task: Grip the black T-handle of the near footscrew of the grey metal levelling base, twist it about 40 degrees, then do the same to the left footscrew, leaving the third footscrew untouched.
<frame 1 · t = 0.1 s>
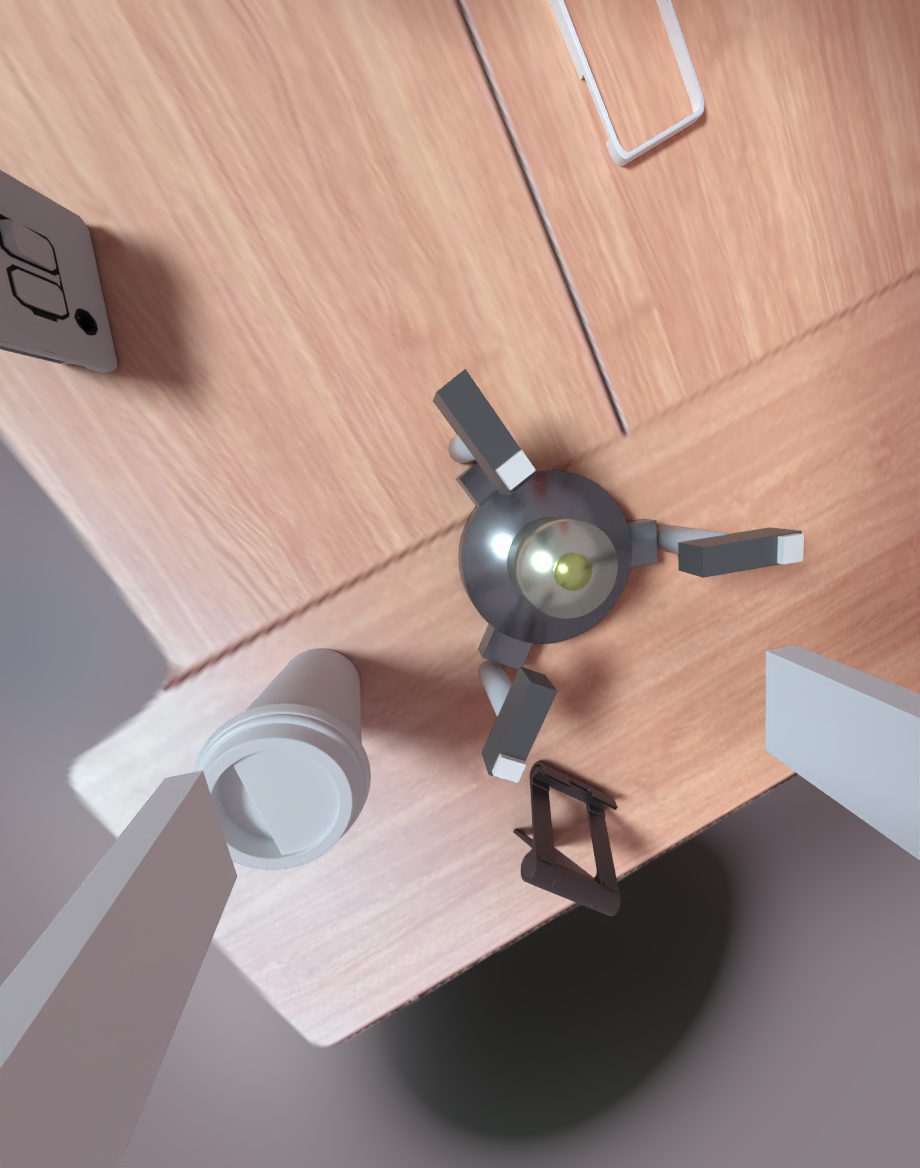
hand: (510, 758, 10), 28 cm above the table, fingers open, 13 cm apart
coffee cup: (321, 683, 38), on the table
levelling base: (539, 556, 39), on the table
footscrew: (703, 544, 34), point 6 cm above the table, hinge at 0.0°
portable electronic device stand: (552, 805, 44), on the table
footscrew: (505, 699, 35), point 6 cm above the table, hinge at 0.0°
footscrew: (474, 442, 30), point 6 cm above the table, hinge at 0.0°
electrical switch: (66, 306, 30), on the table
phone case: (611, 38, 32), on the table
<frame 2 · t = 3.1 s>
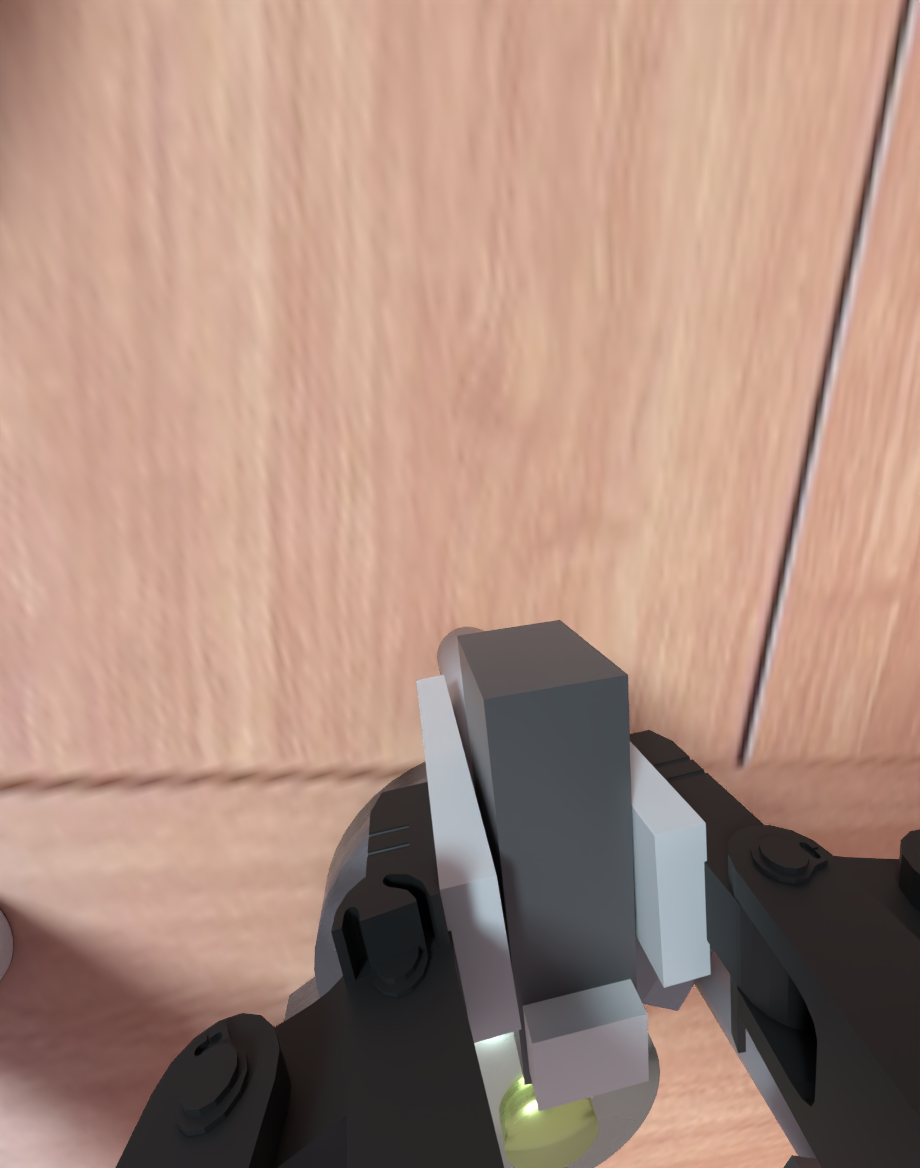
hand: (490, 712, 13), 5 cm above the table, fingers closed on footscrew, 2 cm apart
levelling base: (492, 889, 20), on the table
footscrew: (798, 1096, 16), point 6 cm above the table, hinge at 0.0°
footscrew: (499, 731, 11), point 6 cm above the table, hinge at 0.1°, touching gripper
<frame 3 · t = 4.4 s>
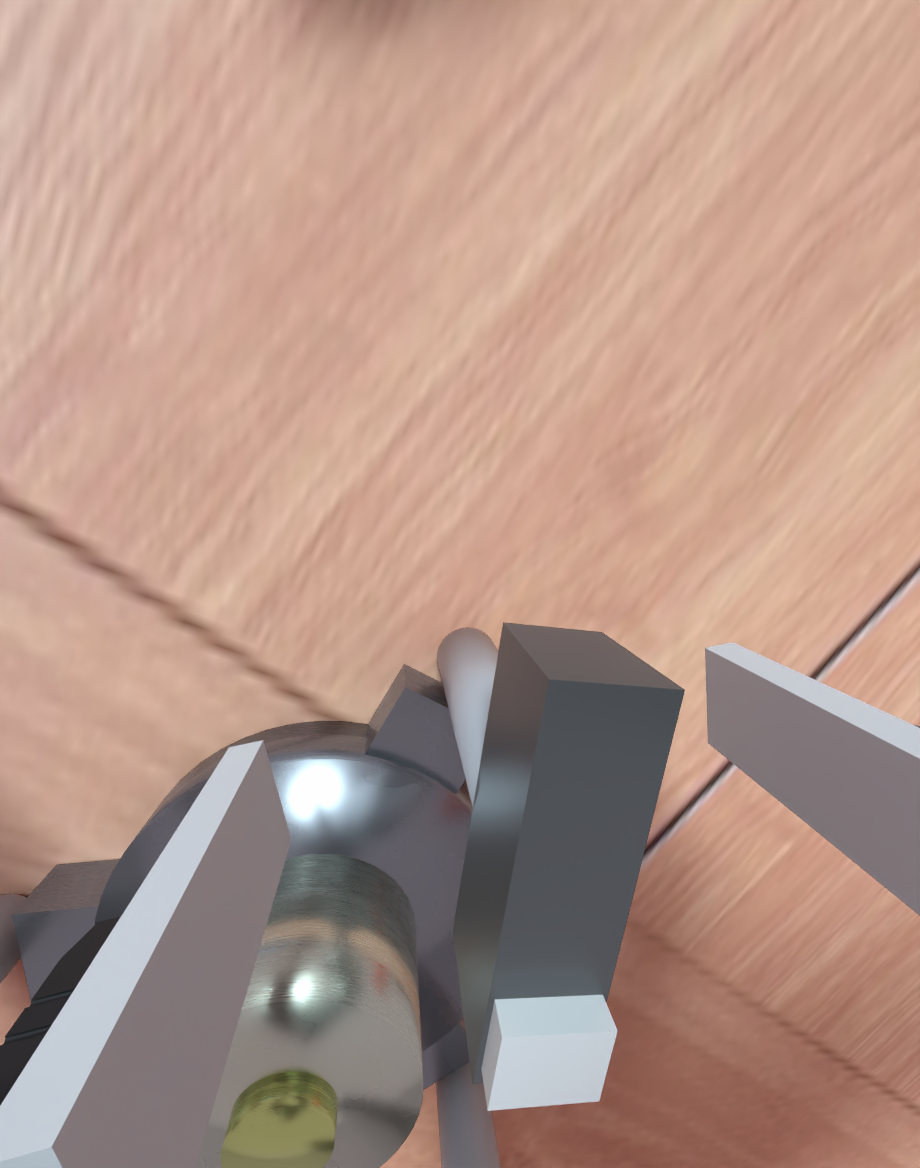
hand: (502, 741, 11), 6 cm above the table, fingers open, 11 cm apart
levelling base: (326, 879, 18), on the table
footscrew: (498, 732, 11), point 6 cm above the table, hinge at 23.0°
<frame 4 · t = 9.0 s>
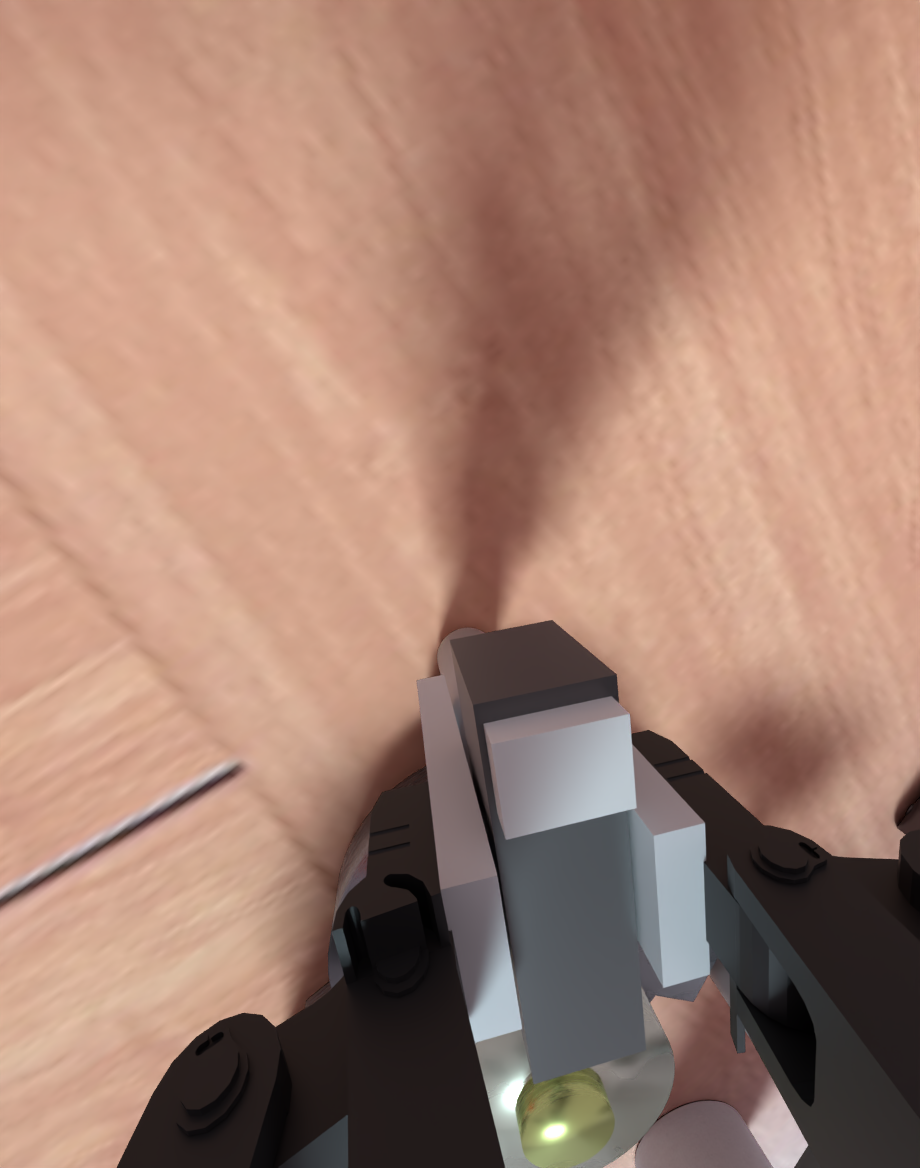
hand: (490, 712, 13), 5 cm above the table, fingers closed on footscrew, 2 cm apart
coffee cup: (687, 1139, 25), on the table
levelling base: (502, 887, 20), on the table
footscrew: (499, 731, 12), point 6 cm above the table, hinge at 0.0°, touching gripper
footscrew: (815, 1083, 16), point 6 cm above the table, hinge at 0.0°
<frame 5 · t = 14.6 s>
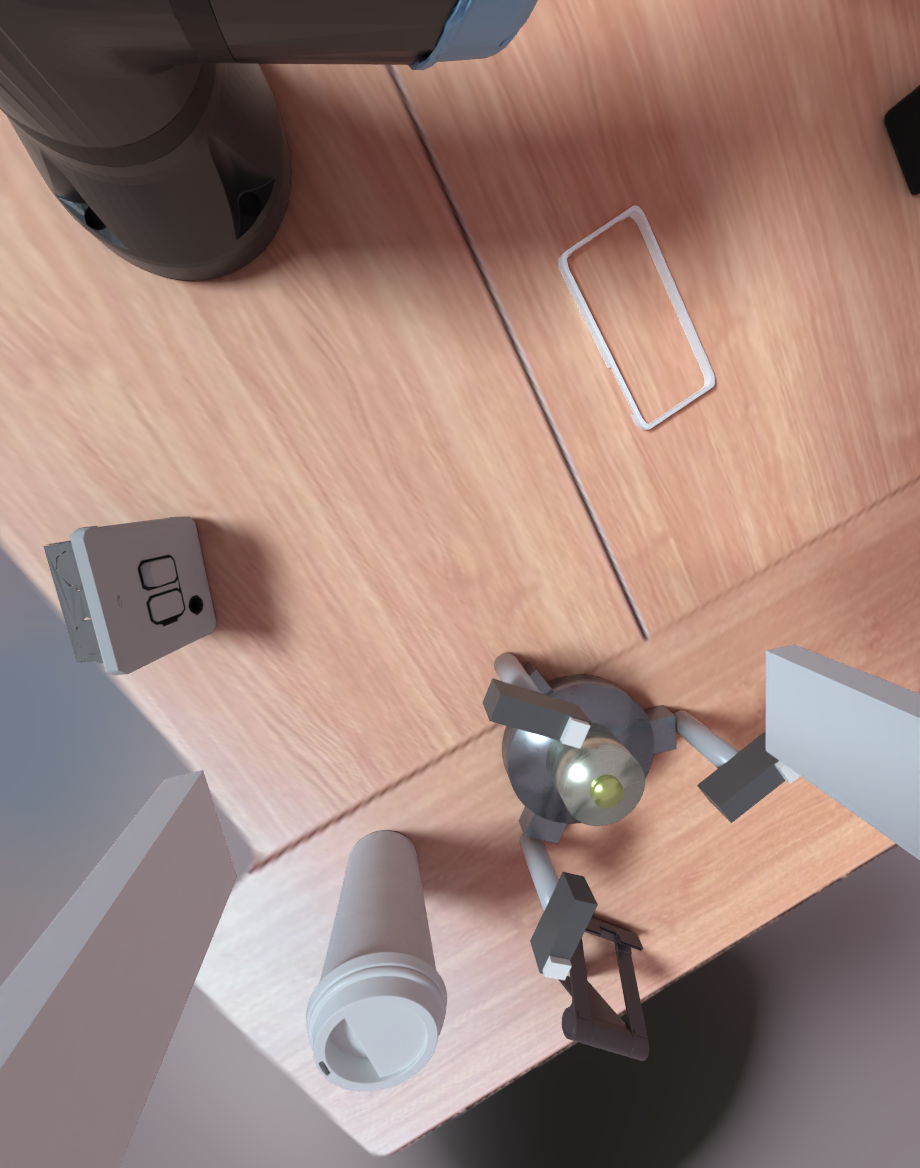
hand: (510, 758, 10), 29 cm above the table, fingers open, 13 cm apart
battery: (913, 144, 37), on the table
coffee cup: (383, 857, 44), on the table
levelling base: (572, 742, 44), on the table
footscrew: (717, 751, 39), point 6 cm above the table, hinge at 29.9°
portable electronic device stand: (584, 942, 50), on the table
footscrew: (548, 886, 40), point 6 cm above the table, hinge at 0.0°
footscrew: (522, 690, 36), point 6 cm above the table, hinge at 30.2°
electrical switch: (173, 579, 36), on the table
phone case: (632, 329, 37), on the table
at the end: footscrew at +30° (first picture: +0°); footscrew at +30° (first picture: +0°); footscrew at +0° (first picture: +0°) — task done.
